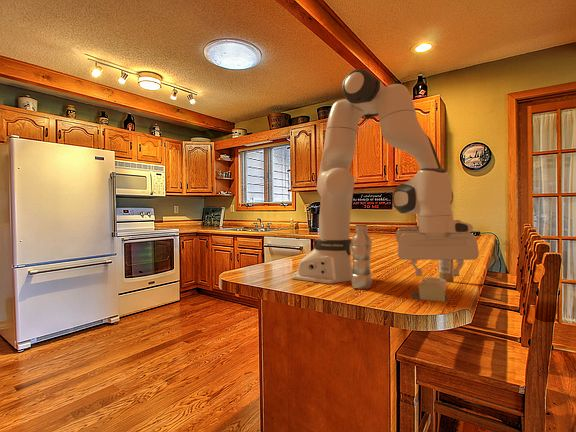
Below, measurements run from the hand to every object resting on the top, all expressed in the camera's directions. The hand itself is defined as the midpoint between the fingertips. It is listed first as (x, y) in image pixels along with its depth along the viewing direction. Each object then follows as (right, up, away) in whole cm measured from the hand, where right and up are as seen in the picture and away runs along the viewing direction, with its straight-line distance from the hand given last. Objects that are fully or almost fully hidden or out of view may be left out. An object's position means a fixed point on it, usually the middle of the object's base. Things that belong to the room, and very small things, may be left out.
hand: (436, 275), depth 87 cm
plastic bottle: (-18, -7, +11) cm, 22 cm away
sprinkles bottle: (+12, -6, +19) cm, 24 cm away
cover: (-2, -6, 0) cm, 6 cm away
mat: (-2, -6, 0) cm, 7 cm away
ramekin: (+3, -6, +8) cm, 10 cm away
